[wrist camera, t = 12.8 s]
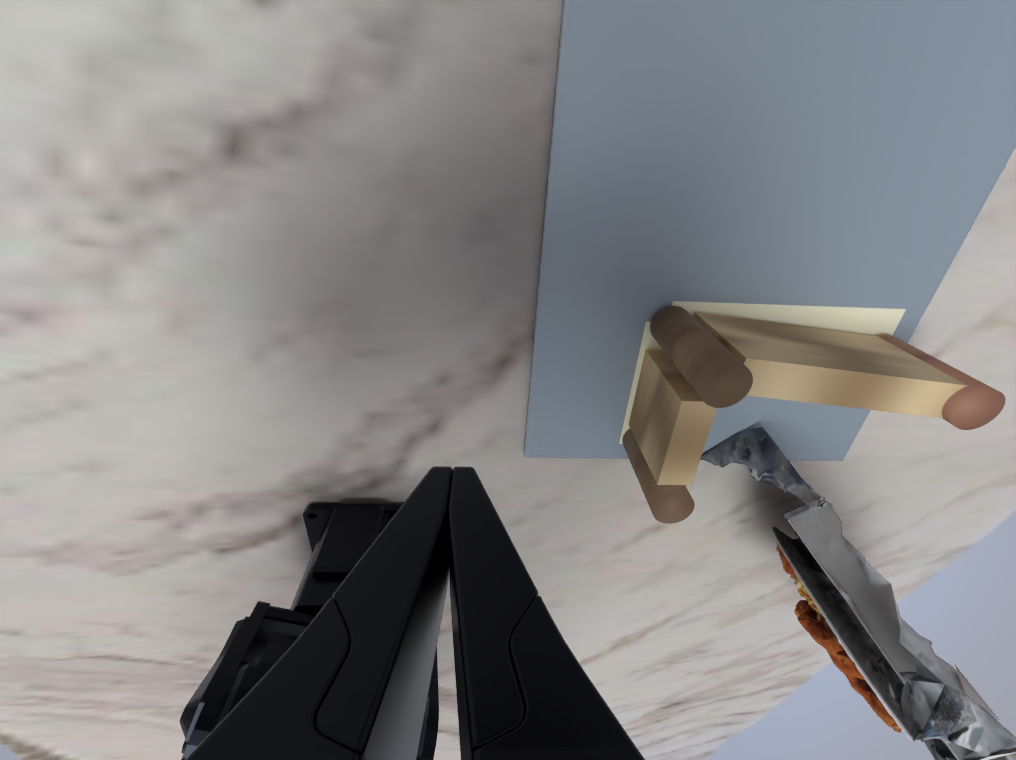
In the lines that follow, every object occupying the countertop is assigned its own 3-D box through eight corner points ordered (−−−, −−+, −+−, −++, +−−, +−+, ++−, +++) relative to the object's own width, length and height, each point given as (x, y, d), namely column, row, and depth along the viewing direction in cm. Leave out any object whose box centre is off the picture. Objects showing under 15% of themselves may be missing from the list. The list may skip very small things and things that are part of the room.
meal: (686, 461, 24) (852, 759, 13) (760, 420, 23) (1010, 713, 12) (788, 579, 31) (955, 845, 20) (850, 552, 30) (1066, 822, 19)
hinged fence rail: (644, 340, 20) (692, 405, 16) (657, 303, 19) (711, 360, 15) (884, 370, 22) (993, 438, 17) (906, 337, 21) (1027, 399, 16)
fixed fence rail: (651, 451, 24) (688, 523, 20) (619, 451, 24) (648, 523, 20) (679, 350, 21) (729, 409, 17) (641, 349, 21) (683, 408, 17)
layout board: (837, 456, 25) (843, 461, 25) (523, 452, 24) (524, 457, 24) (1081, 4, 15) (1097, 2, 15) (566, -38, 14) (569, -43, 14)
